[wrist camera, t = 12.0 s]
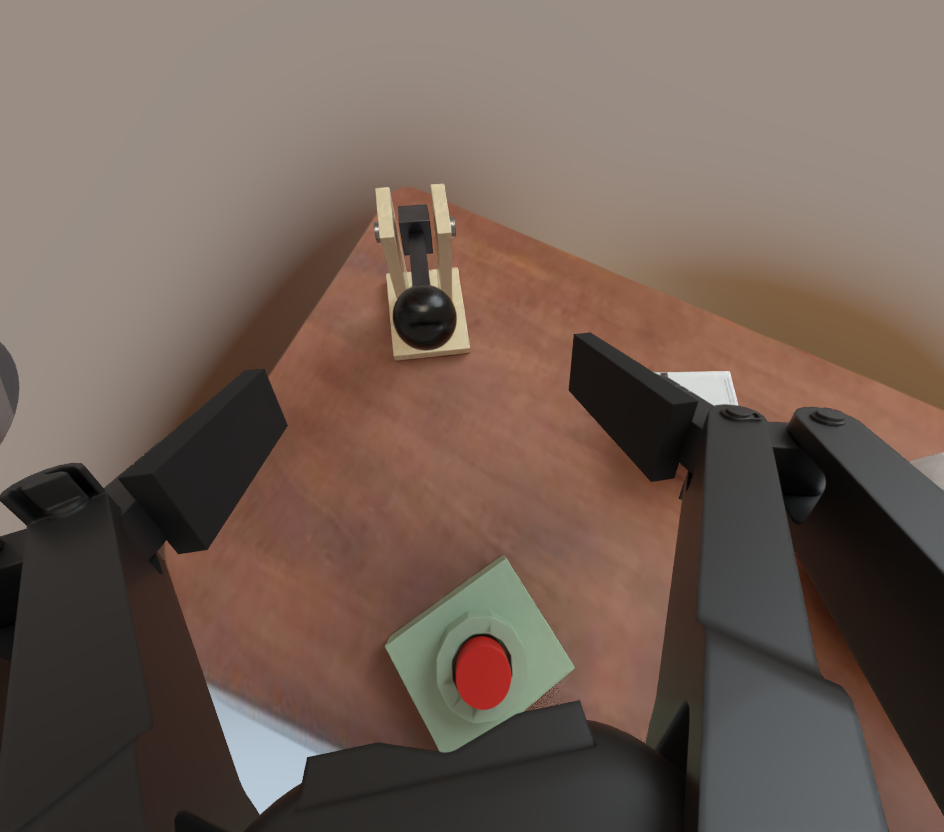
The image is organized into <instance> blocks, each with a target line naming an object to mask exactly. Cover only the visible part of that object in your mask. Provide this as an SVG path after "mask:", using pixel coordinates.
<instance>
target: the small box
mask: <svg viewBox="0 0 944 832" xmlns="http://www.w3.org/2000/svg"><path fill="white" fill-rule="evenodd" d="M654 373H656V374H659V375H662V376H665V377H667V378H670V379H672V380H673V381H675V382H677V383H678V384H680V386H683V387H685V388H686V389H688V390H689V391H691V392H693V393H695V394H696V395H698V396H699V397H701V398H703V399H704V400H706V401H708V402H709V403H711V404H712V405H714V406H715V405H721V404H729V405H737V406H738V402H737V398H736V394H735V390H734V387H733V383H732V379H731V375H730V372H729V371H711V372H654Z"/></svg>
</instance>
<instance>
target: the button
mask: <svg viewBox="0 0 944 832" xmlns="http://www.w3.org/2000/svg"><path fill="white" fill-rule="evenodd" d="M510 684H511V669H510V665H509V662H508V660H507V657H506V654H505V651H504V650H503V648H502V646H501V645H500V644H499V643H498V642H497V641H495V640H494V639H492V638H490V637H486V636H479V637H475V638H472V639H470V640H469V641H467V642H466V643H465V644H464V645H463V646H462V648H461V649H460V651H459V653H458V656H457V660H456V685H457V689H458V692H459V694H460V696H461V697H462V699H463V700H464V701H465V702H466V703H467V704H468V705H470V706H471V707H473V708H475V709H480V710H487V709H491V708H494V707H495V706H497V705H498V704H500V703H501V702H502V701H503V700H504V698H505V697H506V695H507V693H508V691H509V688H510Z"/></svg>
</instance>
